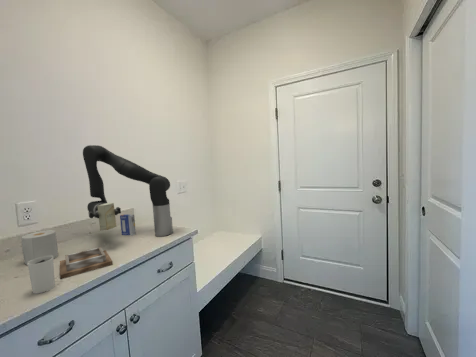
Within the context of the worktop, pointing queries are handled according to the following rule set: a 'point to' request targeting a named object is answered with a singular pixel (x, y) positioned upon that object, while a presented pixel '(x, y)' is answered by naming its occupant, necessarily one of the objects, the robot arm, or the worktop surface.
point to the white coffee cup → (41, 274)
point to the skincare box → (106, 216)
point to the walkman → (127, 225)
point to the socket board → (84, 262)
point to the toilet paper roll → (39, 245)
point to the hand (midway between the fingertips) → (107, 214)
